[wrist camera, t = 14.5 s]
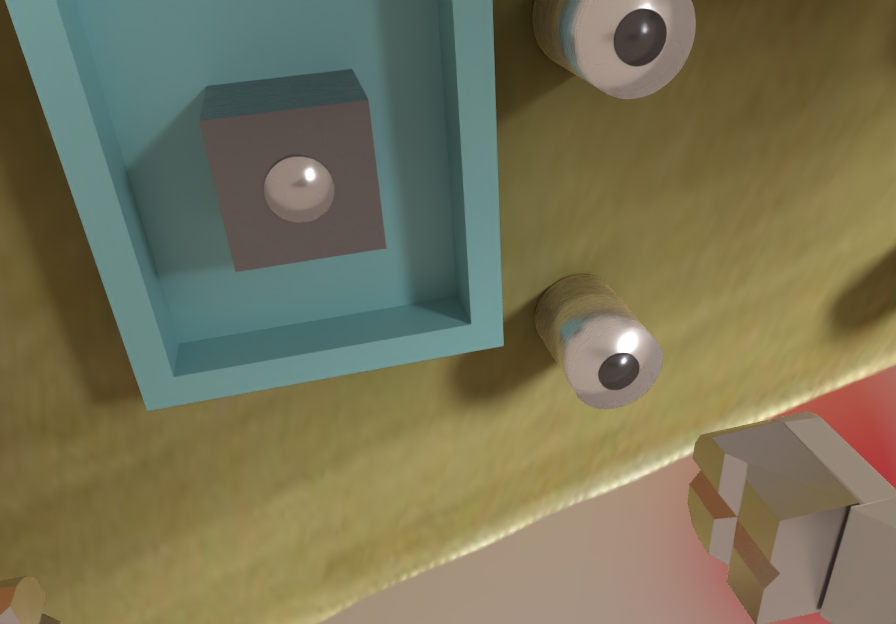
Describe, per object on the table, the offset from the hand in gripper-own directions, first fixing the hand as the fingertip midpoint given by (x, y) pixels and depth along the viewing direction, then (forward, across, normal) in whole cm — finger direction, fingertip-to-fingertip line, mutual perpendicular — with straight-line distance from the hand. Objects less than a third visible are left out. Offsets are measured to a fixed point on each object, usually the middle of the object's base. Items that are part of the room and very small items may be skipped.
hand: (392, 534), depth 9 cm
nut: (+18, +1, +1) cm, 18 cm away
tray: (+19, +1, +1) cm, 19 cm away
